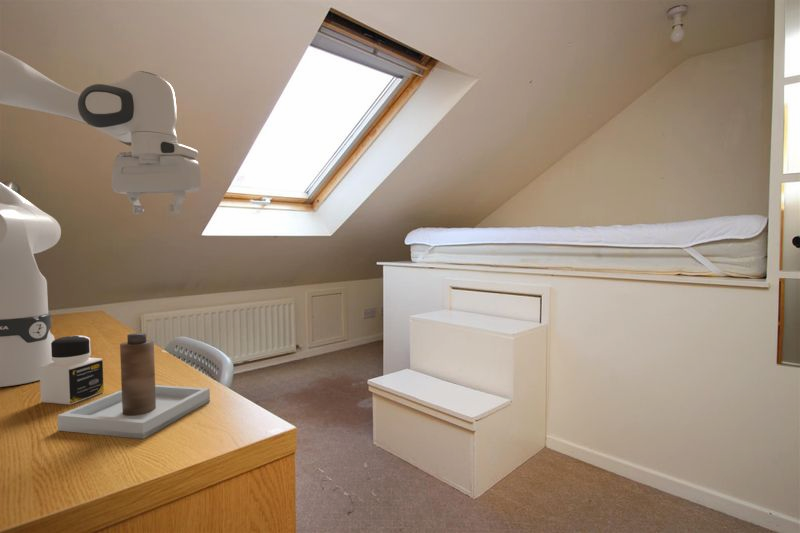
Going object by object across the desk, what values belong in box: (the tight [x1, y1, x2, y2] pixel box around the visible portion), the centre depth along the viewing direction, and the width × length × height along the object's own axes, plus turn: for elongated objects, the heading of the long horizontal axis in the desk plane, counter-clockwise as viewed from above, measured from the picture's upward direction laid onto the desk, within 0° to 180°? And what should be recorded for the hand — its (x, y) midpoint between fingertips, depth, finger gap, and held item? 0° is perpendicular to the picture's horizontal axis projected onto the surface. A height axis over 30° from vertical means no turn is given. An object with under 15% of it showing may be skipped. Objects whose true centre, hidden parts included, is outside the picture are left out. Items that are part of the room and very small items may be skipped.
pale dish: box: [57, 384, 211, 440], centre depth 74 cm, size 16×16×2 cm
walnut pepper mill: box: [119, 332, 156, 416], centre depth 74 cm, size 5×5×14 cm
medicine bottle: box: [39, 335, 105, 406], centre depth 82 cm, size 7×7×12 cm
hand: (156, 213), depth 93 cm, fingers open, 8 cm apart
